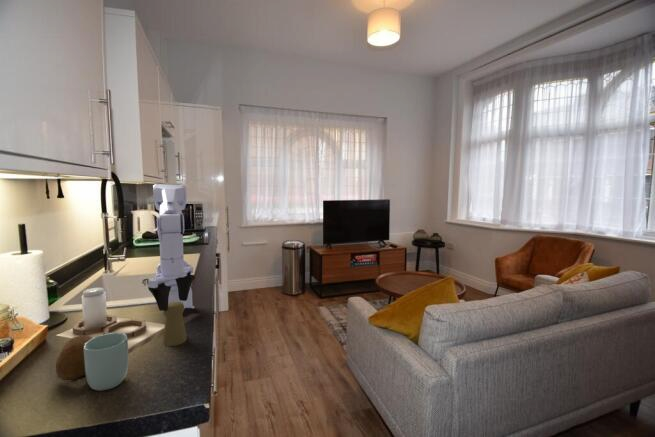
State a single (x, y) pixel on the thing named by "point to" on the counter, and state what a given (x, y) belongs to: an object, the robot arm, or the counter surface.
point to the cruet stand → (119, 330)
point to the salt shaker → (94, 307)
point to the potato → (72, 359)
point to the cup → (106, 360)
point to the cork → (174, 325)
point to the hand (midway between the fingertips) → (173, 305)
